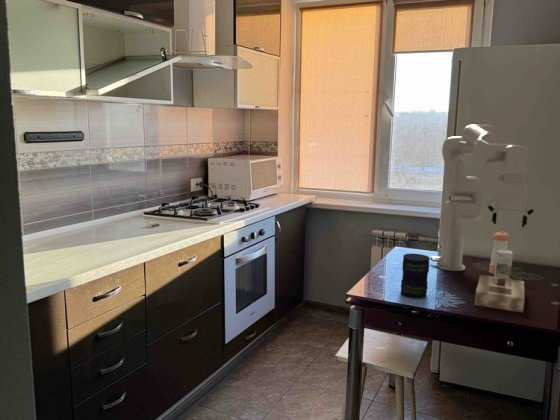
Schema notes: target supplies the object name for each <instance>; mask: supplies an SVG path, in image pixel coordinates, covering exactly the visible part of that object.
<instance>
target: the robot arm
mask: <svg viewBox="0 0 560 420" xmlns="http://www.w3.org/2000/svg"><path fill="white" fill-rule="evenodd" d="M499 136H500V133H499V130H498V128H497V127H496V126H494V125H493V124H469V125H467V126H465V127H464V128H463V129H462V131H461V135H459V136H450V137H447V138H446V139H445V140H444V142H443V143H442V149H441V150H442V151H441V152H442V153H441V154H442V159H443V161H444V166H445V171H444V172H445V173H444V174H445V192H446V194H447V195H448V196H449V197H452V198H453V197H454V198H467V199H450V200H447V201H445V202H444V203H443V204H442V212H441V213H442V221H443V222H442V238H441V249H440V256H433V255H431V256H430V261H431V262H436V264H435V265H436V268H438V269H441V270H444V271H450V272H463V271H465V269H466V266H465V265H464V264H463V256H464V255H463V254H464V245H465V233H466V230H465V228H464V226H463V224H462V223H461V222H476V221H479V220H480V219H481V218H482V216H483V212H484V211H483V210H484V208H483V207H484V202H483V201H484V197H483V196H484V195H483V194H484V193H483V192H484V191H483V183H482V181H481V179H480V178H478V177H477V176H475V175H473V176H471V175H470V176H469V175H466V165H465V163H464V162H463V160H462V158H461V157H460V156H466V157H468V156H470V157H475V158H477V160H479V161H480V162H482V163H485V164H490V165H493V164H494V165H496V164H497V165H503V170H502V174H499V175H498V177H497V179H498V180H502V181H500V182H499V184H498V188H497V195H496V196H495V197H493V198H489V199H487V200H485V203H486V206H487V208H488V210H489V211H490V212H491V213H492V218H491V222H493V225H496V224H497V218H498V217H497V216H498V211H499V210H501V211H502V210H503V211H513V212H521V213H522V214H523V216H522V223H521V227H522V228H525V226H527V224H528V223H527V222H528V217H529V216H530V215H532V214H533V213H534V212H535V210H536V209H537V208H538V204H536V203H534V202H533V201H531V200H529V199H528V184H527V183H525V182H526V175H527V174H526V172H527V164H528V156H529V155H528V154H529V148H528V147H527V146H526V145H517V144H514V143H513V144H512V143H497V142H498V141H499ZM494 202H495V207H493V206H492V203H494ZM527 205H529V206H531V208H530V209H528V211H527V210H526V209H527Z"/></svg>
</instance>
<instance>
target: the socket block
mask: <svg viewBox="0 0 560 420" xmlns="http://www.w3.org/2000/svg"><path fill="white" fill-rule="evenodd" d="M478 279H479V280H478V282H477V286H476V289H475V297H474V298H475V299H474V306H479V307H480V306H481V307H487V308H492V309H500V310H504V311H511V312H517V313H522V314H523V313H524V307H525V281H524V280H519V279H511V278H510V279H505V278H498V277H494V276H491V275H484V274H483V275H482V274H480V275H479V278H478Z"/></svg>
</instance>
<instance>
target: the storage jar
mask: <svg viewBox="0 0 560 420" xmlns="http://www.w3.org/2000/svg"><path fill="white" fill-rule="evenodd" d="M402 258H403V259H402V278H401V283H400V295H401V296H403V297H405V298H409V299H414V300H415V299H416V300H421V299H422V300H423V299H425V298H427V293H428V284H429V283H428V274H429V272H430V261H431V257H429V256H428V255H424V254H421V253H406V254H403V257H402Z"/></svg>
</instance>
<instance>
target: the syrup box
mask: <svg viewBox="0 0 560 420" xmlns="http://www.w3.org/2000/svg"><path fill="white" fill-rule="evenodd" d="M513 255H514V253H513V251H512V250H509V249H507V250H501V249H497V253H496V262H495V271H494V274H493V277H498V278H505V279H511V273H512V272H511V271H512V264H513V259H514V258H513V257H514V256H513Z"/></svg>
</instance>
